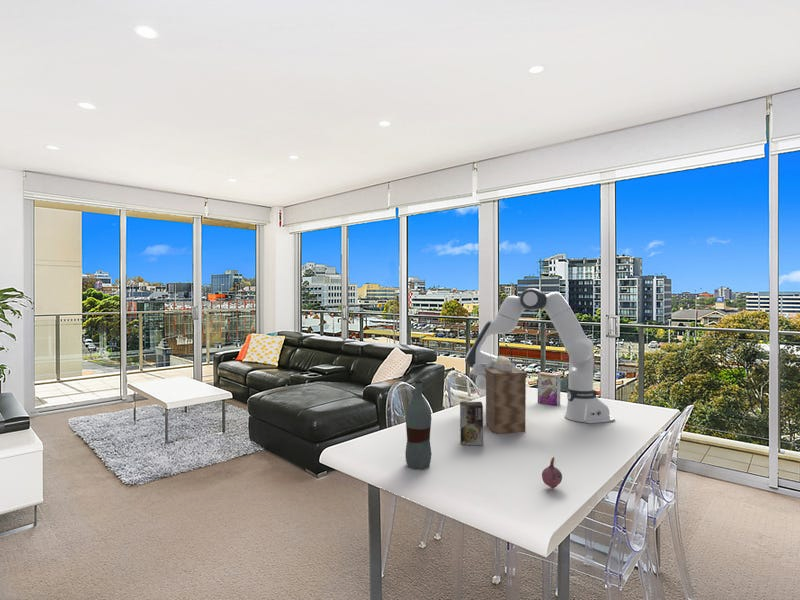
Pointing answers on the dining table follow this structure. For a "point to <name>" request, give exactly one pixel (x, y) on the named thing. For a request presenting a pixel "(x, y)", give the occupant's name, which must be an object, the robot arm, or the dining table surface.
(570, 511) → the dining table surface
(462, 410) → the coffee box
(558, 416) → the dining table surface
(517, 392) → the lidded wooden crate
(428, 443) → the bottle
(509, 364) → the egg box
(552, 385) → the candy bar box
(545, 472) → the vegetable
